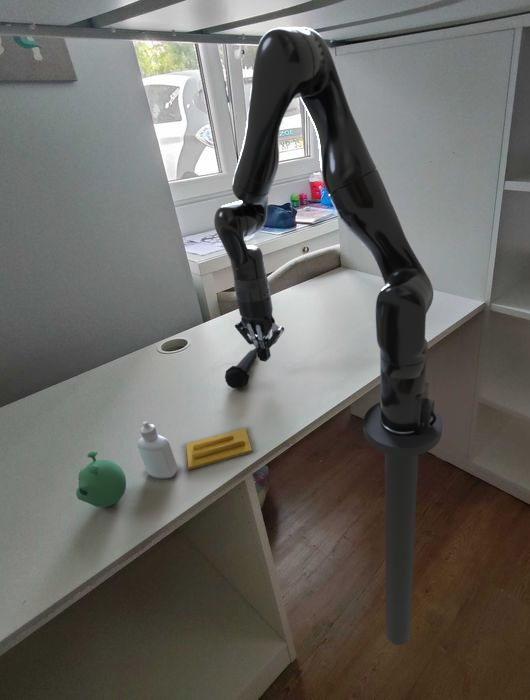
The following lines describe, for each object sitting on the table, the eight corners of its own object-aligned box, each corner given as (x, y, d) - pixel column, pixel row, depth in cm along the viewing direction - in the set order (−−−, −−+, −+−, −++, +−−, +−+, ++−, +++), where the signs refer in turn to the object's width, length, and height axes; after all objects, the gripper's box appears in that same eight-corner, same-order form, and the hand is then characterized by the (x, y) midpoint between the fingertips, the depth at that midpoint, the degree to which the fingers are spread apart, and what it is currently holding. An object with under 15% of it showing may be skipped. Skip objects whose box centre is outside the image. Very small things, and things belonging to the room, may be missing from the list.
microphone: (252, 360, 122) (228, 396, 104) (243, 341, 120) (217, 375, 102) (270, 354, 121) (248, 390, 102) (261, 336, 119) (238, 368, 100)
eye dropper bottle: (159, 486, 80) (140, 435, 74) (145, 471, 83) (126, 422, 77) (181, 472, 83) (164, 422, 77) (166, 458, 86) (149, 409, 80)
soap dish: (246, 430, 92) (244, 424, 91) (252, 451, 86) (250, 446, 86) (186, 446, 89) (185, 440, 88) (188, 469, 83) (187, 464, 82)
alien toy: (83, 496, 79) (62, 455, 74) (129, 479, 82) (112, 438, 77) (85, 525, 74) (63, 482, 68) (134, 505, 77) (116, 463, 71)
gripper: (219, 297, 99) (233, 362, 108) (268, 304, 94) (279, 372, 102) (239, 284, 105) (251, 348, 114) (287, 290, 100) (296, 356, 108)
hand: (264, 359), depth 108 cm, fingers closed
